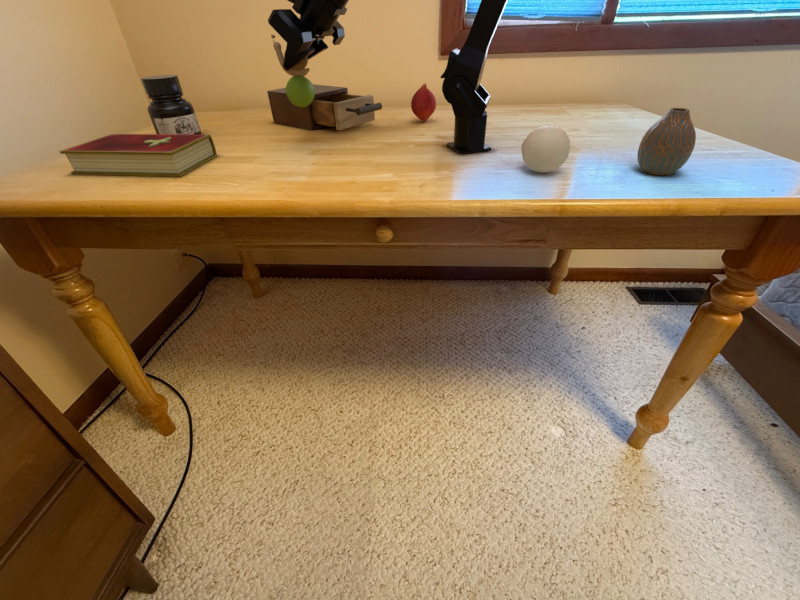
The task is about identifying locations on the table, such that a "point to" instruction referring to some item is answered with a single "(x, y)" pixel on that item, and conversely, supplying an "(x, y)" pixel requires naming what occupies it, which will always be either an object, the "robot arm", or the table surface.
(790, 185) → the table surface
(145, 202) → the table surface
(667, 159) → the vase
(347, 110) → the drawer
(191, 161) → the hardcover book
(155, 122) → the ink bottle
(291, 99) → the snail figurine
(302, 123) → the cabinet
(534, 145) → the beige round ball
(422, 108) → the onion
